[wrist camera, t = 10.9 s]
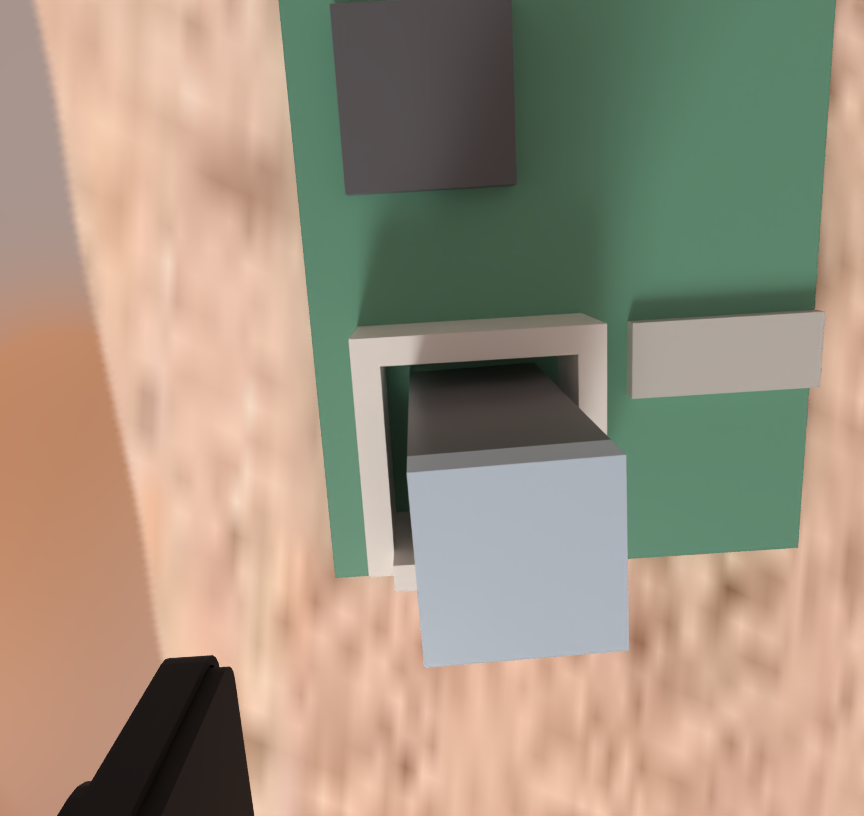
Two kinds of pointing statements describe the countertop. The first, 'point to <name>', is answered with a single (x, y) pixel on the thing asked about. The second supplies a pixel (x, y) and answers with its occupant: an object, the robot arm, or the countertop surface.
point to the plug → (513, 519)
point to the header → (454, 342)
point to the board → (578, 226)
